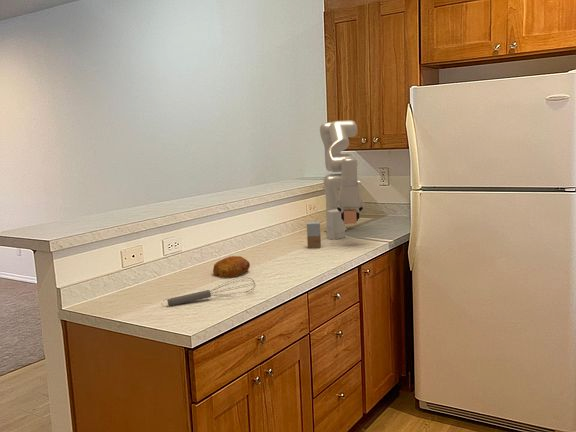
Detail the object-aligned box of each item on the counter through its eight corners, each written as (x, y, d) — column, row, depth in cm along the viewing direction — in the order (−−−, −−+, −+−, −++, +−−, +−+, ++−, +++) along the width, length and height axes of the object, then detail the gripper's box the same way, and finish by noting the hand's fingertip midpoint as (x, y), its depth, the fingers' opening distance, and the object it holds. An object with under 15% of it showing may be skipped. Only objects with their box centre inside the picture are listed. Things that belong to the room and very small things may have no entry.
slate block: (308, 233, 284) (307, 221, 283) (320, 233, 283) (319, 221, 282) (307, 236, 278) (306, 224, 277) (319, 235, 277) (319, 223, 276)
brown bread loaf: (255, 275, 241) (256, 256, 240) (233, 279, 227) (234, 259, 227) (227, 271, 248) (228, 253, 248) (204, 275, 235) (205, 255, 234)
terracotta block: (344, 221, 284) (343, 209, 283) (356, 221, 283) (356, 209, 282) (344, 223, 278) (343, 211, 277) (356, 223, 277) (356, 211, 276)
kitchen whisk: (160, 305, 199) (158, 287, 198) (252, 291, 211) (251, 274, 210) (163, 310, 193) (162, 291, 192) (258, 295, 206) (257, 277, 205)
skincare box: (337, 236, 306) (336, 208, 303) (345, 237, 301) (345, 209, 299) (326, 238, 300) (325, 210, 298) (334, 240, 296) (333, 211, 294)
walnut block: (308, 245, 285) (308, 233, 284) (320, 245, 284) (320, 233, 283) (307, 248, 279) (307, 236, 278) (320, 248, 278) (319, 235, 277)
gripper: (367, 182, 280) (368, 218, 283) (331, 183, 282) (332, 219, 285) (367, 184, 272) (368, 221, 276) (331, 185, 274) (332, 222, 278)
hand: (350, 220), depth 280 cm, fingers closed on terracotta block, 6 cm apart
